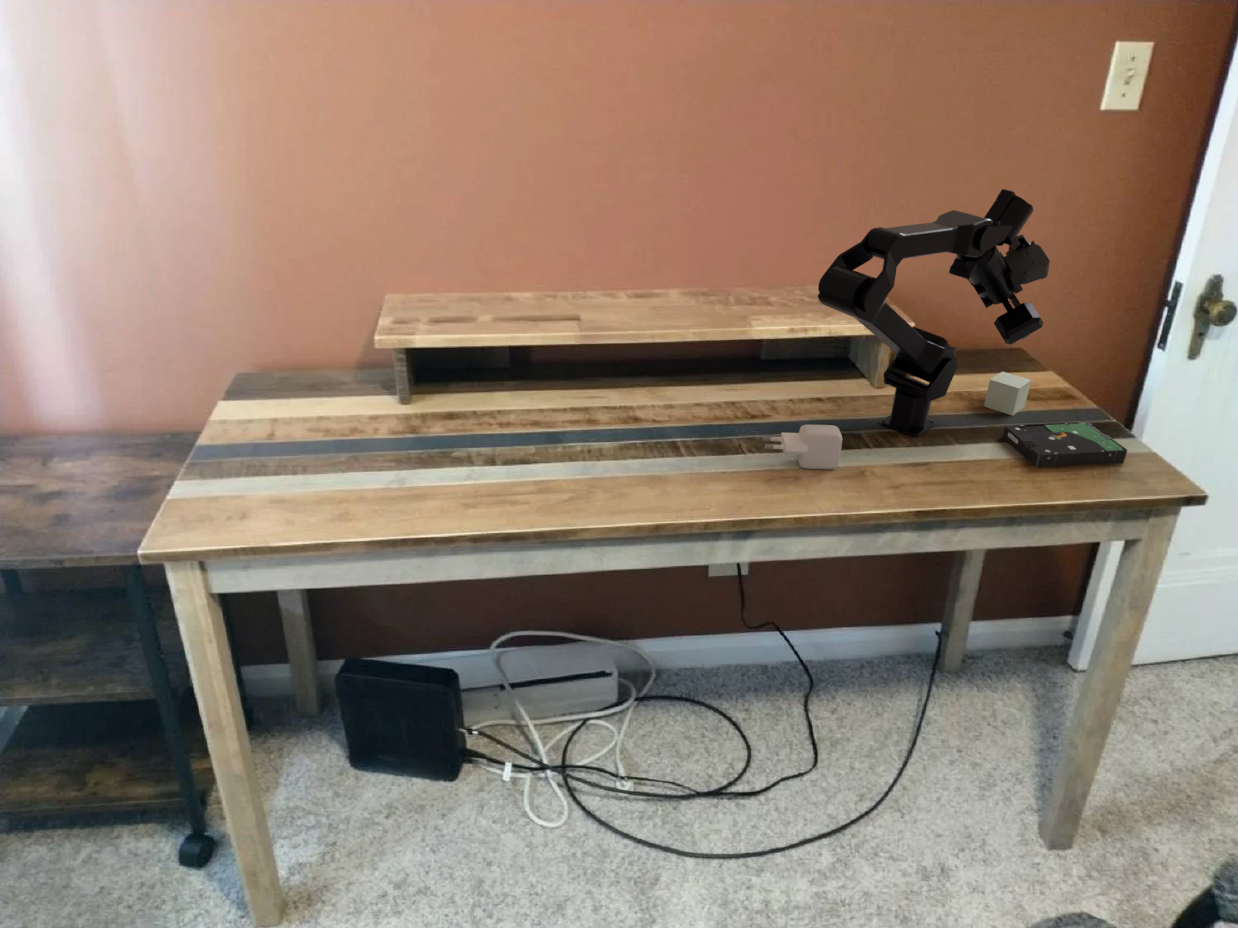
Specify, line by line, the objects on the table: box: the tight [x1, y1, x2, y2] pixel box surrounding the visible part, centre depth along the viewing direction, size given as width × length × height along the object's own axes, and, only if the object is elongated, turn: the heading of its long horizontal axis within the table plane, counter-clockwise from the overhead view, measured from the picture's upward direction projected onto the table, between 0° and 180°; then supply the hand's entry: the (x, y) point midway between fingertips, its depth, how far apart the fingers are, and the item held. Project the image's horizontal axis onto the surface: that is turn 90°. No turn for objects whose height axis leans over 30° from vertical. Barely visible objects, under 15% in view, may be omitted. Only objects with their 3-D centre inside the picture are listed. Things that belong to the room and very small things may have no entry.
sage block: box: [983, 371, 1032, 417], centre depth 163 cm, size 5×5×5 cm
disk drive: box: [1001, 421, 1128, 469], centre depth 150 cm, size 10×3×15 cm
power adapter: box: [761, 424, 843, 470], centre depth 142 cm, size 11×5×6 cm, turn 90°
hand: (1013, 317), depth 163 cm, fingers open, 9 cm apart
